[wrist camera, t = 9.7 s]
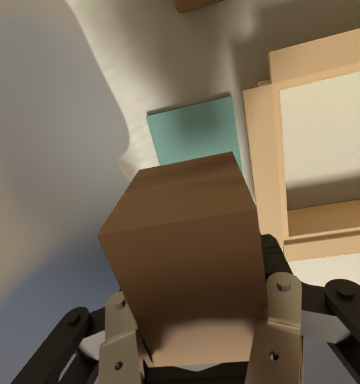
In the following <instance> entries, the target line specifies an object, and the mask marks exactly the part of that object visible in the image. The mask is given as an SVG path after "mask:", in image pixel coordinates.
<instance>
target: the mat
mask: <svg viewBox="0 0 360 384" xmlns="http://www.w3.org/2000/svg"><path fill="white" fill-rule="evenodd" d="M146 118H147V122H148V125H149V129H150V133H151V136H152V140H153V143H154V147H155V150H156V154H157V157H158V161H159V164H160V166H162V165H167V164H171V163H176V162H181V161H186V160H191V159H196V158H201V157H206V156H211V155H216V154H221V153H225V152H230V151H232V152H233V154H234V156H235V159H236V161H237V163H238V166H239V168H240V170H241V173H242V169H241V161H240V154H239V147H238V140H237V133H236V126H235V118H234V111H233V104H232V97H231V96H228V97H223V98H219V99H215V100H211V101H207V102H203V103H199V104H194V105H190V106H186V107H182V108H178V109H174V110H169V111H165V112H161V113H157V114H153V115H149V116H146Z"/></svg>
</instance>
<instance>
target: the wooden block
mask: <svg viewBox="0 0 360 384" xmlns="http://www.w3.org/2000/svg"><path fill="white" fill-rule="evenodd" d="M220 1H223V0H174V3H175V6H176V8H177V10H178V12H180V13H184V12H188V11H191V10H194V9H197V8H201V7H204V6H207V5H210V4H214V3H217V2H220Z"/></svg>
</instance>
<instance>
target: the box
mask: <svg viewBox="0 0 360 384" xmlns="http://www.w3.org/2000/svg"><path fill="white" fill-rule="evenodd" d="M97 236H98V239H99V241H100V243H101V245H102V248H103V250H104V252H105V254H106V256H107V258H108V261H109V263H110V266H111V268H112V270H113V272H114V274H115V277H116V279H117V281H118V283H119V285H120V288H121V290H122V292H123V295H124V297H125V299H126V301H127V304H128V306H129V308H130V310H131V312H132V315H133V316H137V319H138V321H139V323H140V329H141V335H142V337H143V339H144V342H145V344H146V346H147V348H151V351H152V353H153V355H154V361H155V366H156V367H162V366H175V367H179V368H183V369H188V370H192V371H201V370H204V369H207V368H210V367H212V366H215V365H218V364H221V363H225V362H241V361H249V357H250V352H251V347H252V341H253V336H254V331H255V325H256V321H257V318H260V317H261V311H262V305H263V303H267V302H268V296H267V288H266V279H265V271H264V263H263V255H262V246H261V238H260V230H259V222H258V213H257V208H256V206H255V203H254V201H253V199H252V196H251V194H250V192H249V189H248V187H247V185H246V182H245V180H244V177H243V175H242V173H241V170H240V168H239V166H238V163H237V161H236V159H235V156H234V154H233V152H232V151H230V152H225V153H221V154H216V155H211V156H206V157H201V158H196V159H191V160H186V161H181V162H176V163H171V164H167V165H162V166H157V167H152V168H147V169H142V170H139V171H138V173H137V174H136V176H135V177H134V179H133V180H132V182H131V183H130V185H129V186H128V188H127V190H126V191H125V193H124V194H123V196H122V197H121V199H120V200H119V202H118V203H117V205H116V207H115V208H114V210H113V211H112V213H111V214H110V216H109V217H108V219H107V220H106V222H105V223H104V225H103V227H102V228H101V230H100V231H99V233H98V234H97Z"/></svg>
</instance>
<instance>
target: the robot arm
mask: <svg viewBox="0 0 360 384" xmlns="http://www.w3.org/2000/svg"><path fill="white" fill-rule="evenodd" d="M260 238H261V246H262V255H263V263H264V271H265V279H266V288H267V296H268V302H267V303H263V305H262V311H261V317H260V318H257V321H256V325H255V331H254V336H253V341H252V347H251V352H250V357H249V361H241V362H225V363H221V364H218V365H215V366H212V367H210V368H207V369H204V370H201V371H192V370H188V369H183V368H179V367H175V366H162V367H156V366H155V361H154V355H153V353H152V351H151V348H147V346H146V344H145V342H144V339H143V337H142V335H141V329H140V323H139V321H138V319H137V316H133V315H132V312H131V310H130V308H129V306H128V304H127V301H126V299H125V297H124V295H123V292H122V290H121V288H120V291H119V292H118V293H116V294H114V295H113V296H111V297H110V299H109V300H108V301H107V303H106V306H105V307H103V308H101V309H98V310H96V311H93V312H91V313H89V311H88V309H87V308H86V307H77V308H75V309H73V310H71V311H70V312H68V313H67V314H66V315H65V316H64V317H63V318H62V319H61V321H60V322H59V323H58V324H57V326H56V327H55V328H54V329H53V331H52V332H51V333H50V334H49V336H48V337H47V338H46V340H45V341H44V342H43V343H42V345H41V346H40V347H39V348H38V350H37V351H36V352H35V353H34V355H33V356H32V357H31V359H30V360H29V361H28V363H27V364H26V365H25V366H24V367H23V369H22V370H21V371H20V373H19V374H18V375H17V376H16V378H15V379H14V380H13V381H12V383H11V384H93V383H94V382H95V380H96V378H97V376H98V384H303V347H304V337H308V338H312V339H317V340H321V341H326V342H327V343H328V345H329V346H330V348H331V349H332V350H333V352H334V353H335V354H336V356H337V357H338V358H339V359H340V361H341V362H342V363H343V365H344V366H345V368H346V369H347V370H348V372H349V373H350V374H351V376H352V377H353V378H354V380H355V381H356V382H357V384H360V285H358V284H357V283H355V282H352V281H349V280H345V279H334V280H331V281H329V282H328V283H327V284H326V285H325V287H321V286H314V285H309V284H306V283H303V282H301V281H300V280H299V279H298V278H297V277H296V276H295V275H293V273H292V271H291V269H290V267H289V265H288V262H287V260H286V258H285V256H284V254H283V252H282V250H281V247H280V245H279V243H278V241H277V239H276V238H275V237H273V236H272V235H271V234H264V235H261V233H260ZM74 353H75V355H76V357H75V358H74V360H73V361H72V363H71V364H70V366H69V368H68V369H67V371H66V372H65V374H64V375H63V377H62V379H61V380H60V382H59V377H60V374H61V372H62V371H63V369H64V368H65V366H66V365H67V363H68V361H69V360H70V358H71V357H72V355H73V354H74ZM98 374H99V375H98Z"/></svg>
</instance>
